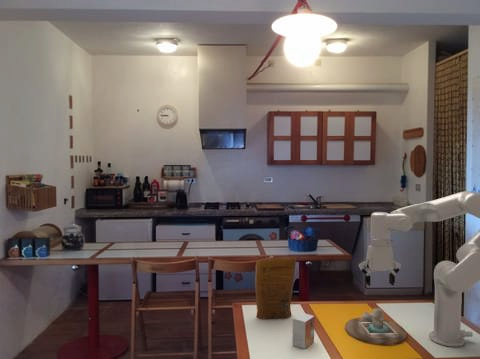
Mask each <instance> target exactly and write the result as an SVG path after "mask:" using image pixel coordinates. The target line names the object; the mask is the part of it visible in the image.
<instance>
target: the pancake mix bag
mask: <svg viewBox="0 0 480 359" xmlns="http://www.w3.org/2000/svg"><path fill="white" fill-rule="evenodd" d="M296 264H297V257H296V256H281V257H272V258H259V259H258V261H257V260H256V261H255V276H254V283H255V285H254V286H255V287H254V288H255V300H256V301H255V302H256V311H257V312H256V318H257V319H260V320H273V319H274V320H279V319H289V318H291V317H292V316H293V315H292V311H291V302H292V297H293V296H292V294H293V287H294V281H295V270H296V267H297V266H296Z"/></svg>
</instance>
